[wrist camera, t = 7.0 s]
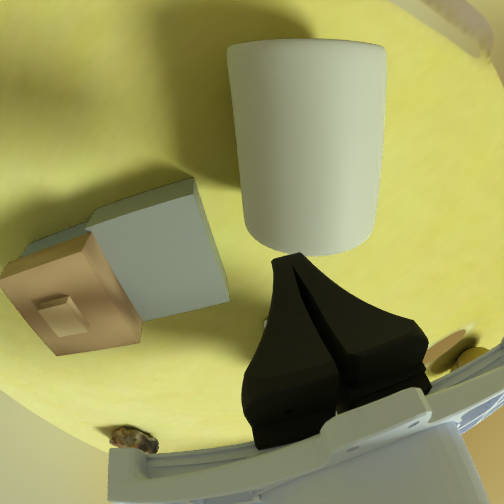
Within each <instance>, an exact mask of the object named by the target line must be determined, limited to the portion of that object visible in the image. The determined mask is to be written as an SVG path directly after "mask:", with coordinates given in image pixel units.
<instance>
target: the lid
mask: <svg viewBox="0 0 504 504" xmlns="http://www.w3.org/2000/svg"><path fill="white" fill-rule="evenodd" d="M0 287H1V288H2V290H3V291H4V293H5V294H6V295H7V297H8V298H9V299H10V301H11V302H12V303H13V305H14V306H15V307H16V309H17V310H18V311H19V313H20V314H21V315H22V317H23V318H24V319H25V320H26V322H27V323H28V324H29V325H30V326H31V328H32V329H33V330H34V331H35V332H36V334H37V335H38V336H39V337H40V338H41V339H42V341H43V342H44V343H45V344H46V345H47V346H48V347H49V349H50V350H51V351H52V352H53V353H54V354H55V355H56V356H61V355H69V354H76V353H82V352H89V351H95V350H101V349H107V348H113V347H119V346H125V345H131V344H136V343H140V338H141V330H142V323H143V320H142V319H141V317H140V316H139V314H138V312H137V311H136V309H135V308H134V306H133V304H132V303H131V301H130V299H129V298H128V296H127V294H126V293H125V291H124V289H123V288H122V286H121V284H120V283H119V281H118V279H117V277H116V276H115V274H114V272H113V270H112V269H111V267H110V265H109V263H108V261H107V259H106V258H105V256H104V254H103V252H102V250H101V248H100V246H99V245H98V243H97V241H96V239H95V237H94V235H93V233H92V232H90V233H87V234H84V235H81V236H78V237H75V238H72V239H70V240H67V241H64V242H61V243H58V244H56V245H53V246H50V247H48V248H45V249H42V250H40V251H37V252H34V253H32V254H29V255H27V256H24V257H21V258H19V259H16V260H14V261H11V262H9V263H8V265H7V266H6V267H5V269H4V271H3V272H2V274H1V275H0Z"/></svg>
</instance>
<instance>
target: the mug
mask: <svg viewBox="0 0 504 504" xmlns="http://www.w3.org/2000/svg"><path fill="white" fill-rule="evenodd" d="M227 66H228V74H229V82H230V89H231V97H232V106H233V116H234V125H235V135H236V145H237V155H238V164H239V174H240V184H241V193H242V203H243V212H244V220H245V225H246V227H247V230H248V231H249V233H250V234H251V235H252V236H253V237H254V238H255V239H256V240H257V241H258V242H260V243H261V244H263V245H265V246H267V247H269V248H271V249H274V250H276V251H280V252H283V253H288V254H294V253H298V252H301V253H302V254H303V255H304V256H326V255H333V254H338V253H342V252H345V251H349V250H351V249H353V248H355V247H357V246H359V245H360V244H362V243H363V242H364V241H366V240H367V239H368V237H369V236H370V235H371V233H372V231H373V228H374V224H375V218H376V211H377V204H378V195H379V187H380V177H381V167H382V155H383V142H384V125H385V104H386V80H387V57H386V51H385V49H384V47H382V46H380V45H376V44H371V43H365V42H358V41H349V40H338V39H317V38H293V39H272V40H261V41H252V42H245V43H239V44H234V45H231V46H229V47H228V48H227Z"/></svg>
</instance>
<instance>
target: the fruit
mask: <svg viewBox="0 0 504 504" xmlns="http://www.w3.org/2000/svg"><path fill="white" fill-rule="evenodd" d="M487 351H489V350H488V349H486V348H483V347H473V348H470V349H468V350H466V351H464V352H463V353H462V354H461V355H460V356H459V358H458V359H457V361H456V362H455V364H454V365H453V367H452V369H451V371H450V372H452V371H454V370H456V369H458V368H460V367H462V366H463V365H465V364H467V363H469V362H471V361H472V360H474V359H476V358H477V357H479V356H481V355H483V354H484V353H486V352H487Z"/></svg>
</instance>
